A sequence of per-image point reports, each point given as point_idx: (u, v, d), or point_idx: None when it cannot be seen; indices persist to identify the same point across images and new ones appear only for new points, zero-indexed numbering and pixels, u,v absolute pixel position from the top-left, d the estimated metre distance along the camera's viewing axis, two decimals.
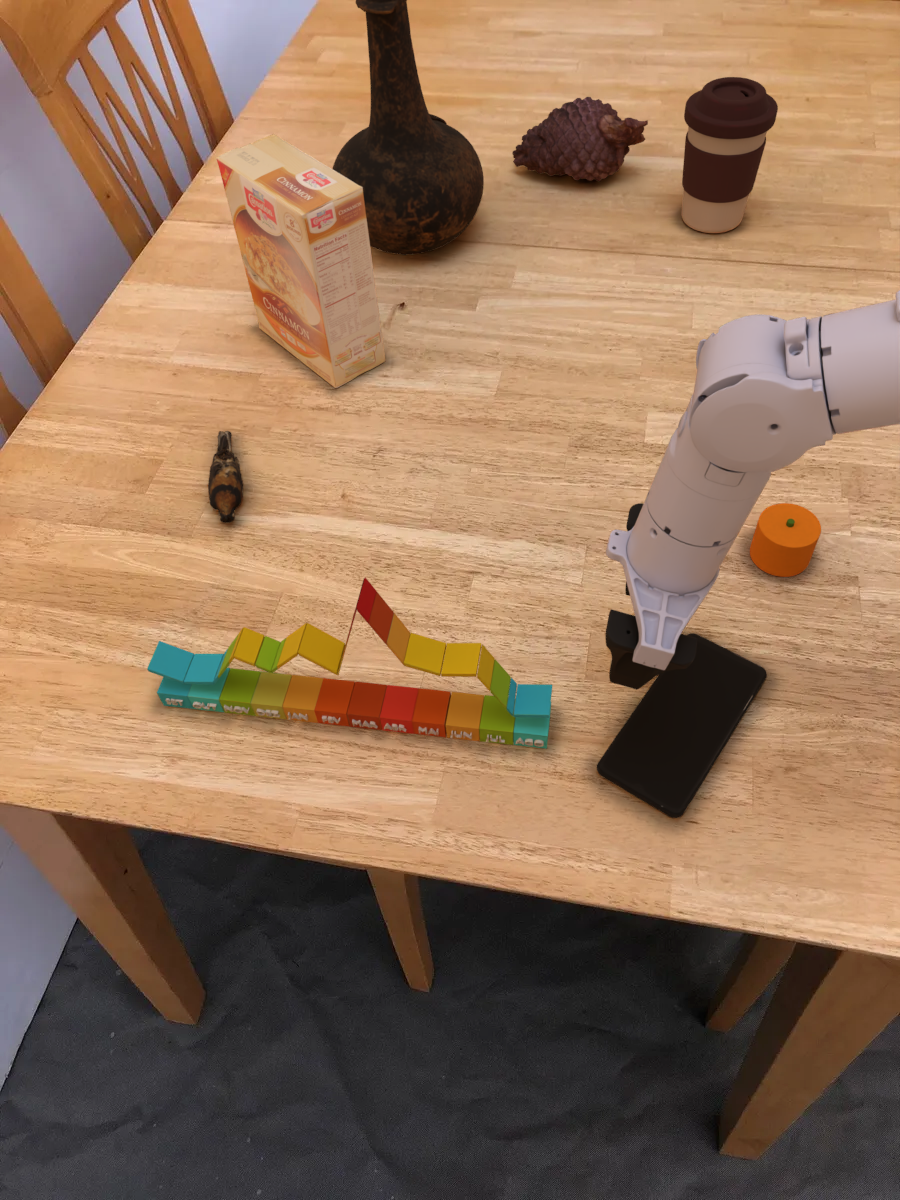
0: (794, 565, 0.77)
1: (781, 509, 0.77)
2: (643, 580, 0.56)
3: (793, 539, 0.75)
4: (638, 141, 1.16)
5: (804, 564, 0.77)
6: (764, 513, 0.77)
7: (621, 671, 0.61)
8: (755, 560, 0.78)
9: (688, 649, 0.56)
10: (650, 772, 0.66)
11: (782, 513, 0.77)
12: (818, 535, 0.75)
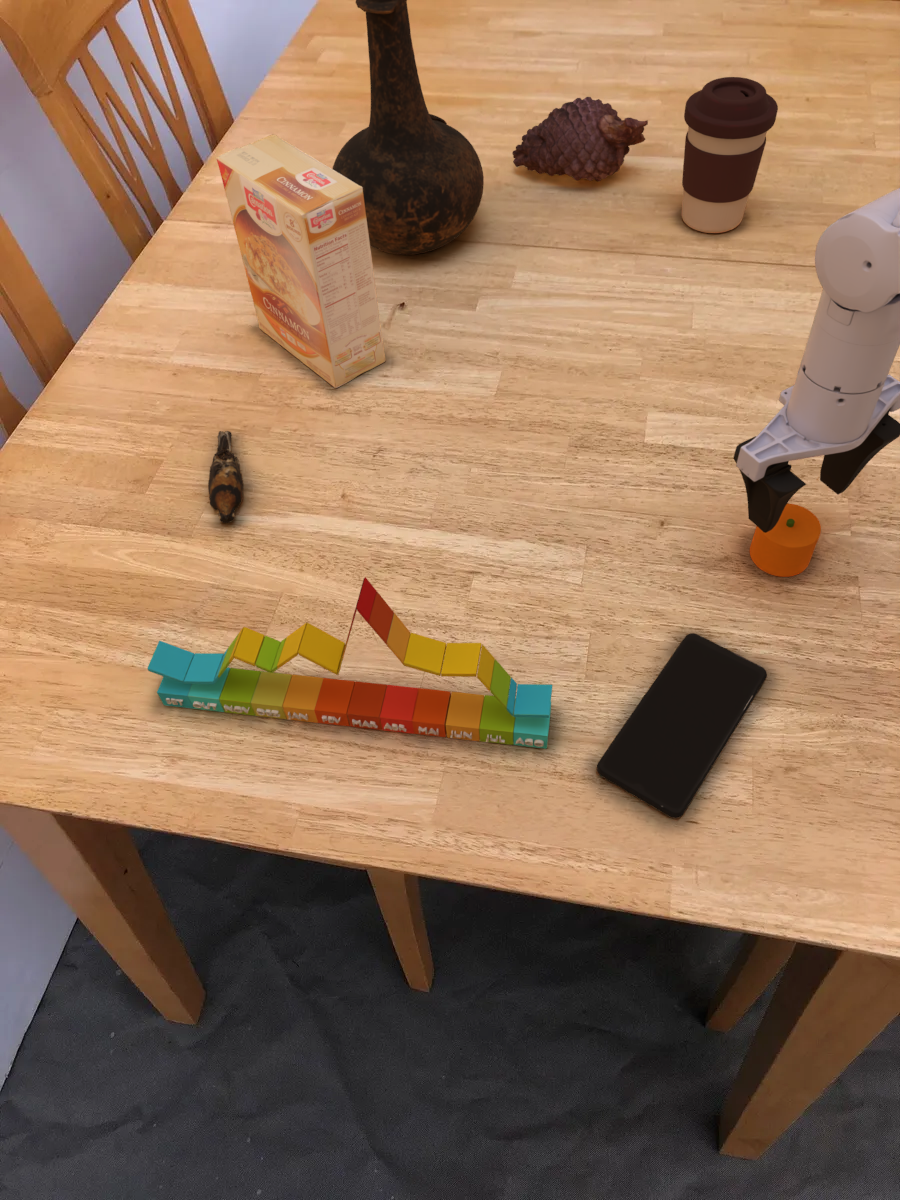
0: (794, 565, 0.77)
1: None
2: (785, 418, 0.67)
3: (793, 539, 0.75)
4: (638, 141, 1.16)
5: (804, 564, 0.77)
6: None
7: (754, 505, 0.72)
8: (755, 560, 0.78)
9: (790, 484, 0.66)
10: (650, 772, 0.66)
11: (782, 513, 0.77)
12: (818, 535, 0.75)
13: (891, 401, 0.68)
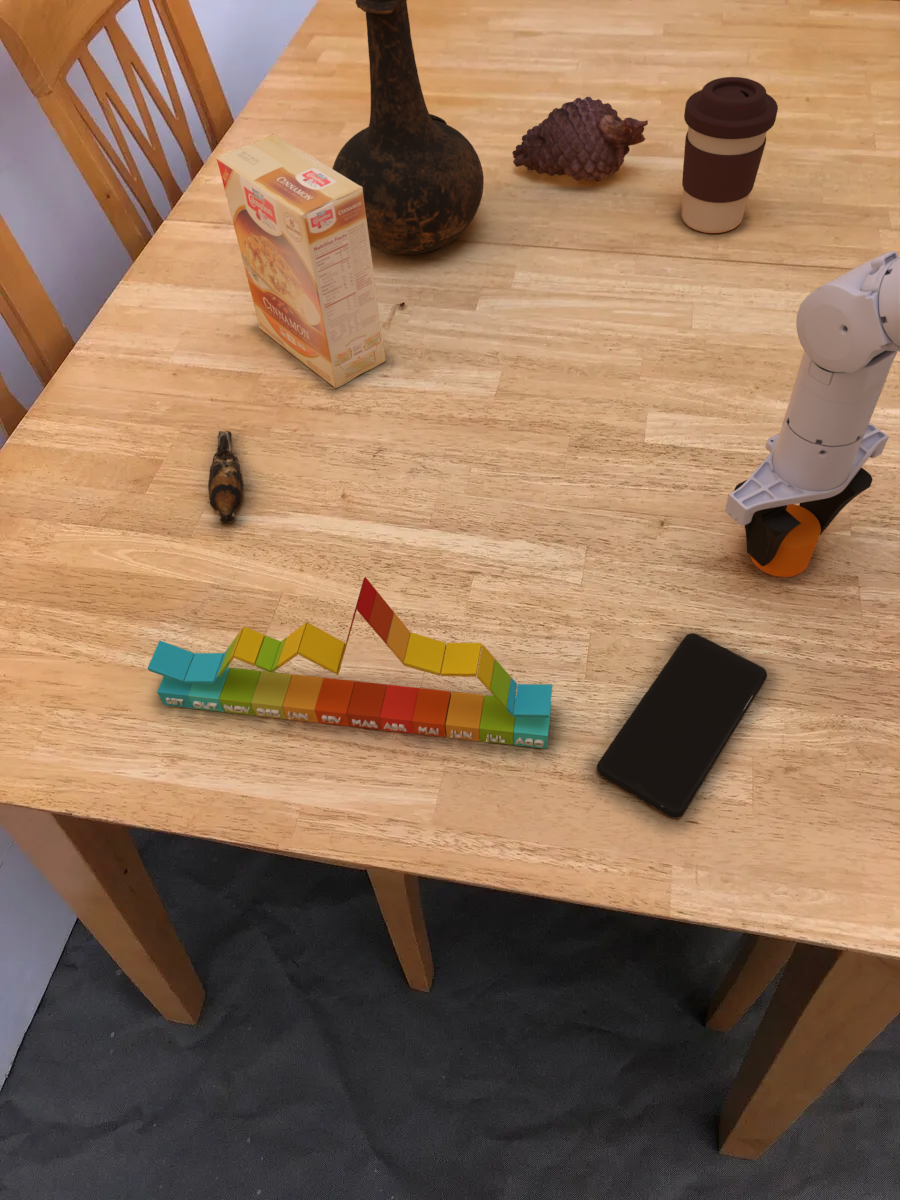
0: (794, 566, 0.77)
1: None
2: (771, 465, 0.71)
3: (792, 539, 0.75)
4: (638, 141, 1.16)
5: (804, 564, 0.77)
6: None
7: (752, 541, 0.76)
8: (755, 560, 0.78)
9: (786, 524, 0.70)
10: (650, 772, 0.66)
11: None
12: (818, 535, 0.75)
13: (872, 449, 0.72)
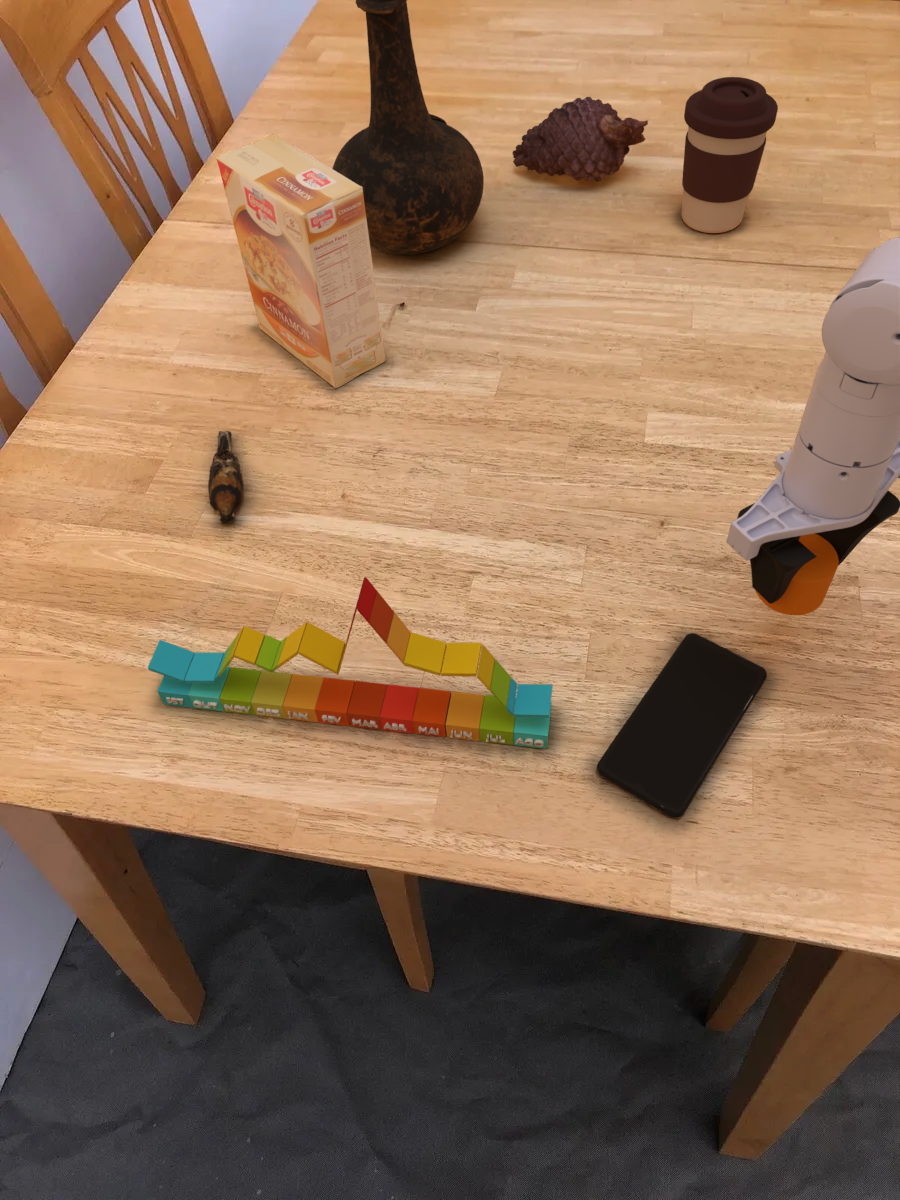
0: (806, 603, 0.66)
1: None
2: (781, 488, 0.60)
3: (805, 572, 0.64)
4: (638, 141, 1.16)
5: (818, 601, 0.66)
6: None
7: (758, 574, 0.65)
8: None
9: (799, 557, 0.60)
10: (650, 772, 0.66)
11: None
12: (835, 568, 0.65)
13: None
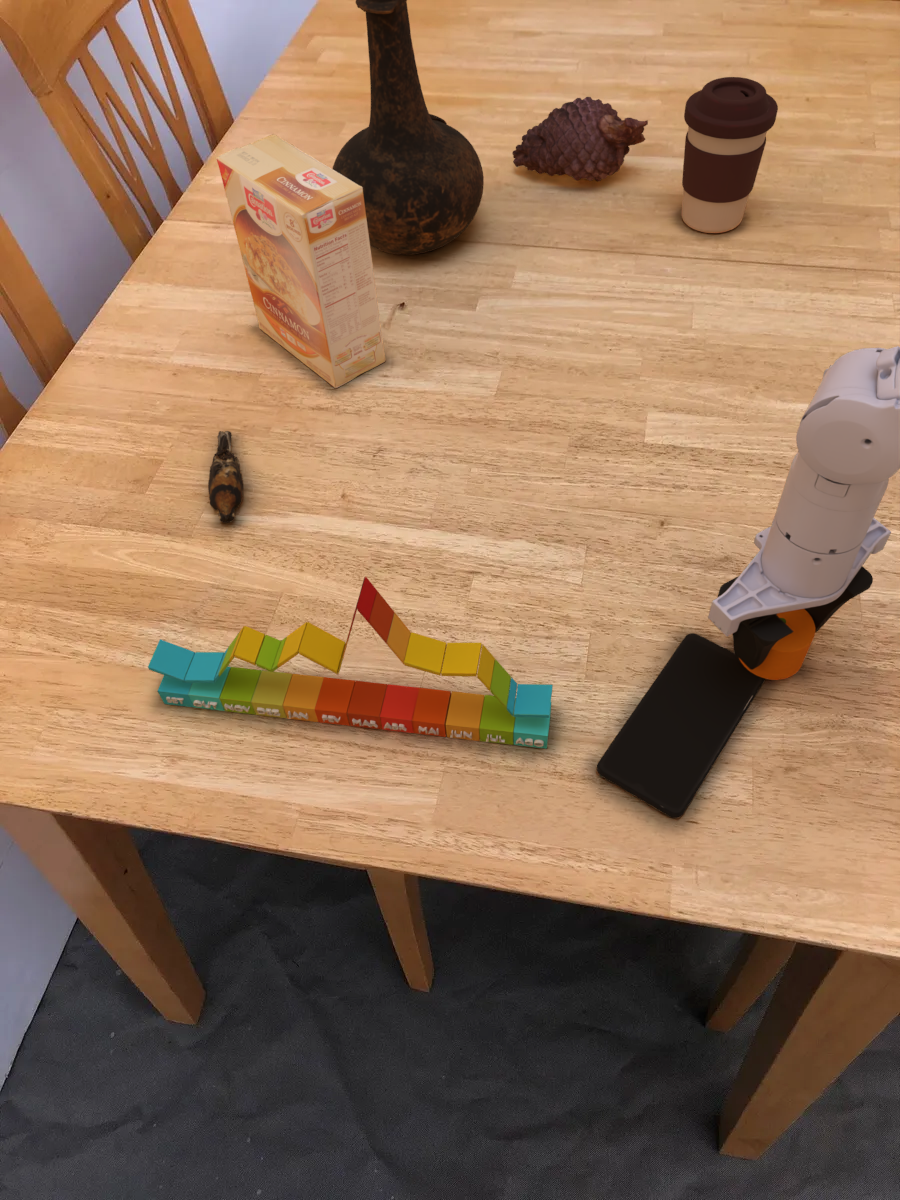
0: (785, 669, 0.69)
1: None
2: (760, 566, 0.64)
3: (784, 641, 0.68)
4: (638, 141, 1.16)
5: (797, 666, 0.70)
6: None
7: (739, 642, 0.69)
8: None
9: (776, 632, 0.63)
10: (650, 772, 0.66)
11: None
12: (812, 637, 0.68)
13: (872, 547, 0.64)
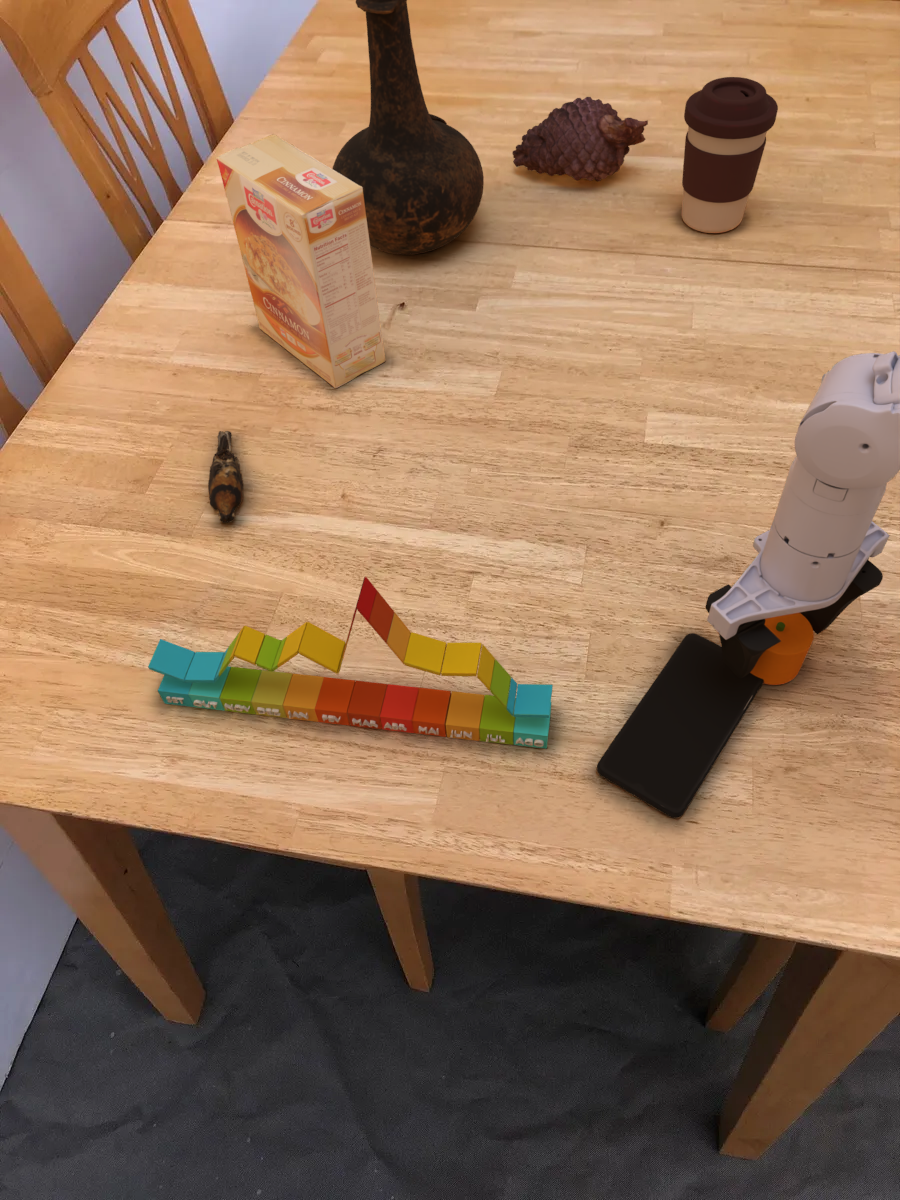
0: (784, 673, 0.70)
1: None
2: (759, 570, 0.64)
3: (783, 645, 0.69)
4: (638, 141, 1.16)
5: (794, 672, 0.70)
6: None
7: (728, 651, 0.69)
8: None
9: (764, 642, 0.63)
10: (650, 772, 0.66)
11: None
12: (811, 641, 0.69)
13: (871, 550, 0.65)
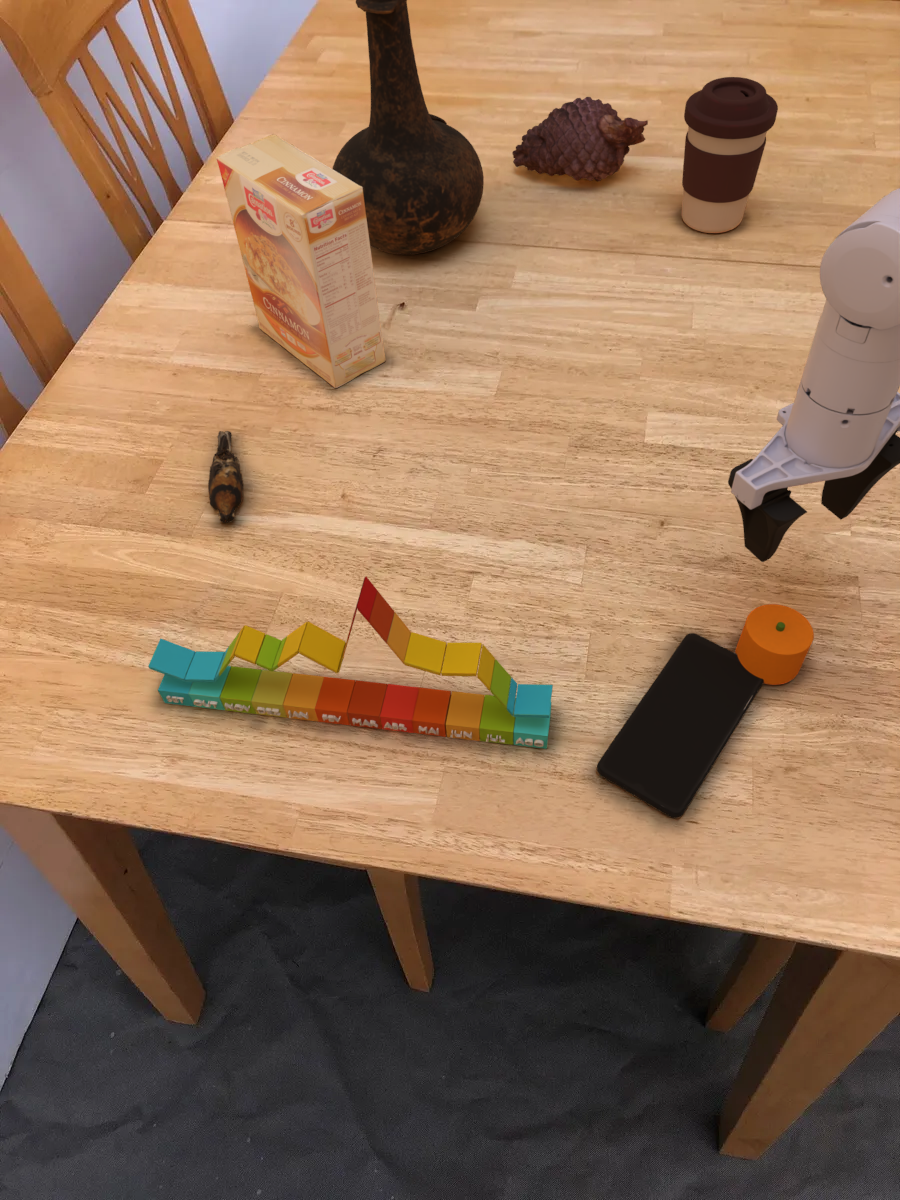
0: (784, 673, 0.70)
1: (770, 610, 0.71)
2: (784, 440, 0.62)
3: (783, 645, 0.69)
4: (638, 141, 1.16)
5: (794, 671, 0.70)
6: (752, 614, 0.71)
7: (750, 533, 0.67)
8: None
9: (790, 512, 0.61)
10: (650, 772, 0.66)
11: (771, 615, 0.71)
12: (811, 641, 0.69)
13: (899, 420, 0.62)
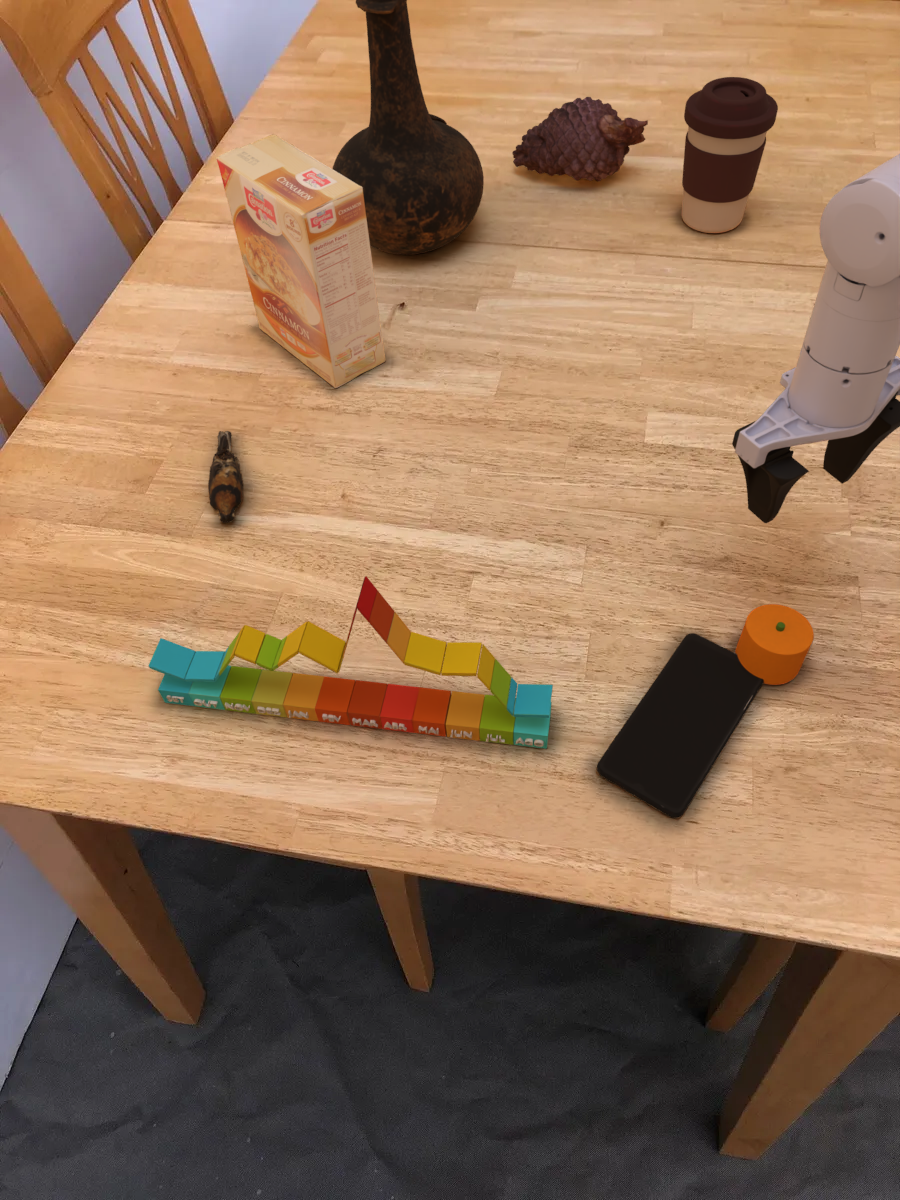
0: (784, 673, 0.70)
1: (770, 610, 0.71)
2: (787, 401, 0.64)
3: (783, 645, 0.69)
4: (638, 141, 1.16)
5: (794, 671, 0.70)
6: (752, 614, 0.71)
7: (754, 495, 0.69)
8: None
9: (792, 471, 0.63)
10: (650, 772, 0.66)
11: (771, 615, 0.71)
12: (810, 641, 0.69)
13: (899, 383, 0.64)
